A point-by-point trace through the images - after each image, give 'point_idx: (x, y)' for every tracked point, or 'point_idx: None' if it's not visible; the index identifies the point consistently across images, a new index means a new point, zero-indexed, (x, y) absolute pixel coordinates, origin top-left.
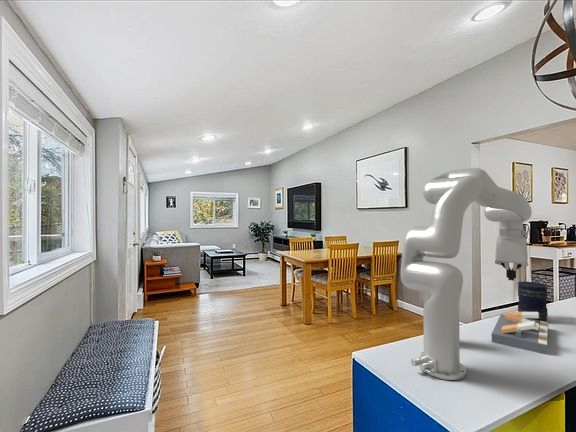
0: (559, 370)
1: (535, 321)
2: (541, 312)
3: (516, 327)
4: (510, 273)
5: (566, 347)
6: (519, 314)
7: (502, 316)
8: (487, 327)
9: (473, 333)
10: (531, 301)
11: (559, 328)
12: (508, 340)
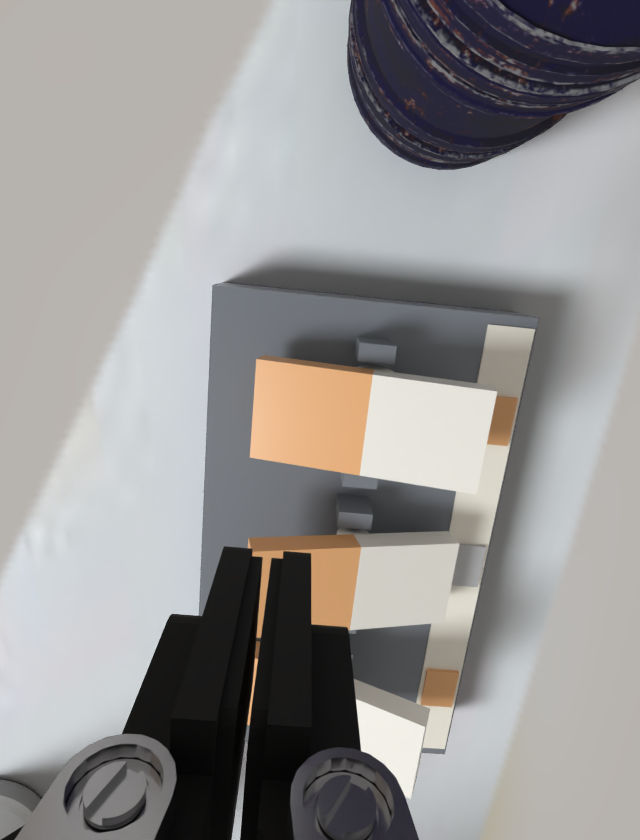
0: (448, 827)
1: (452, 351)
2: (541, 131)
3: None
4: (232, 821)
5: (540, 577)
6: (346, 463)
7: (228, 356)
8: (156, 484)
9: (103, 631)
10: (494, 118)
11: (599, 224)
12: None
